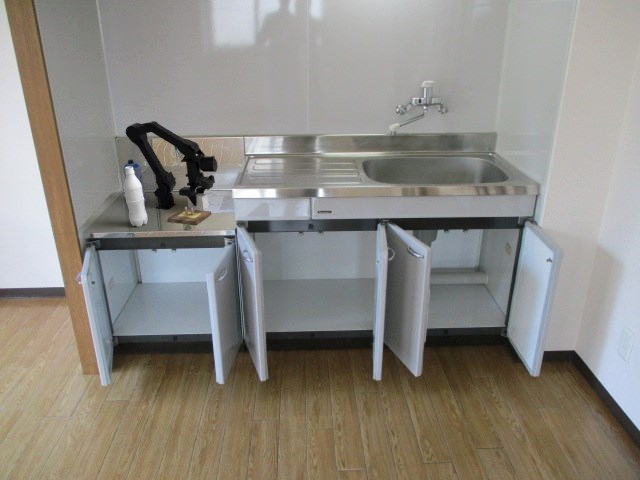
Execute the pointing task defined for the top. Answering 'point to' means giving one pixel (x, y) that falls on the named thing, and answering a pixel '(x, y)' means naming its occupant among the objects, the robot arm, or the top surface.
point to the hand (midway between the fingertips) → (198, 204)
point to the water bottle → (134, 198)
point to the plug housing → (199, 202)
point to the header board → (189, 216)
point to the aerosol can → (136, 174)
